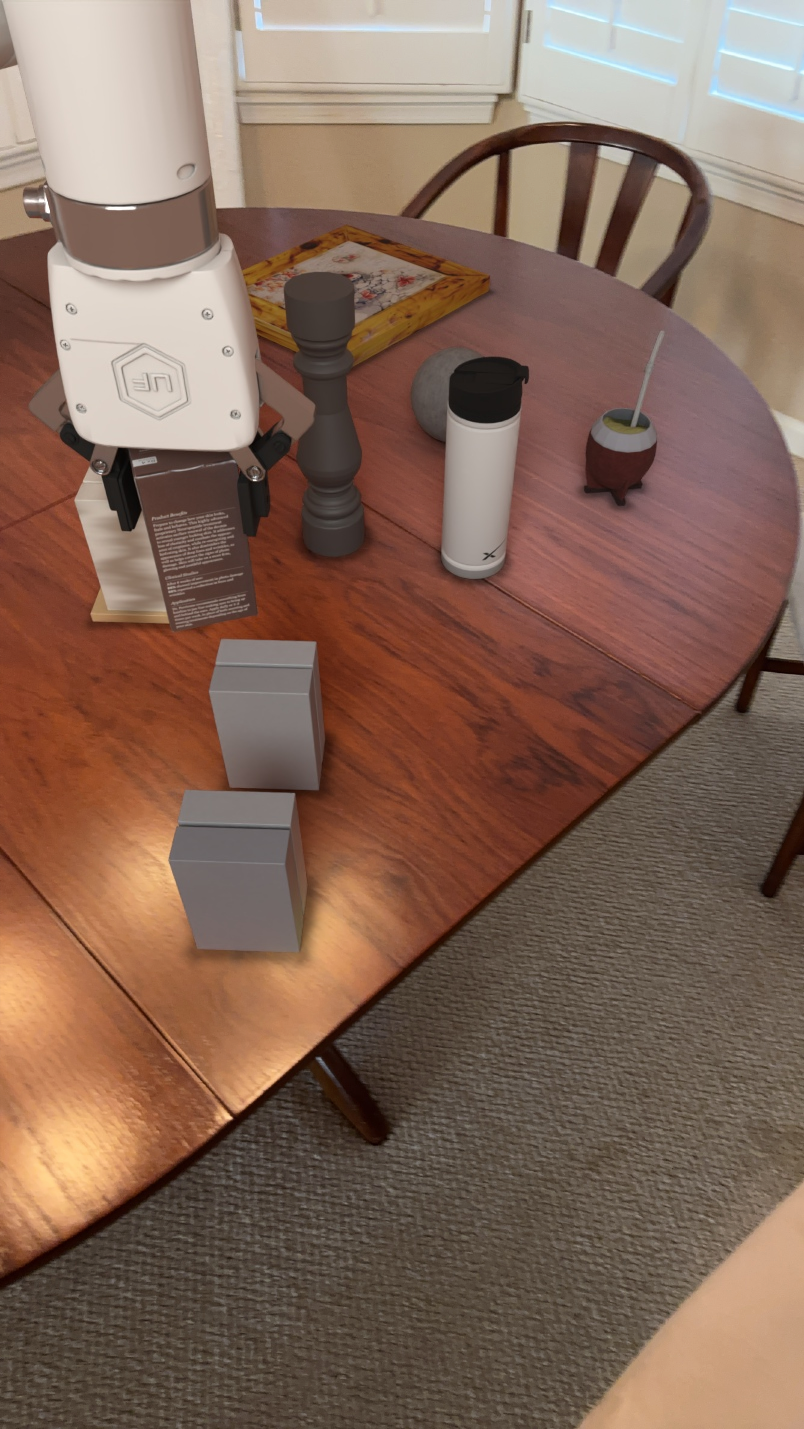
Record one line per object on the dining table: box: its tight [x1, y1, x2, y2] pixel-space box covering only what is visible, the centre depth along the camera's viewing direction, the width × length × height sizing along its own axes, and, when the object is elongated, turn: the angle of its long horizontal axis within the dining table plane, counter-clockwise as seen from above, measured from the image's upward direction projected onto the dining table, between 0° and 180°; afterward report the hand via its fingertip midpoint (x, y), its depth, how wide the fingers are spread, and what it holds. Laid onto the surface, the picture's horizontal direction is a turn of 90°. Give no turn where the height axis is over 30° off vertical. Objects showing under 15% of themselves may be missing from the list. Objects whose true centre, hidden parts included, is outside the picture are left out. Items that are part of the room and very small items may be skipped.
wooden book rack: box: [73, 465, 170, 625], centre depth 87 cm, size 10×18×13 cm, turn 178°
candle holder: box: [284, 272, 366, 558], centre depth 85 cm, size 6×6×25 cm
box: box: [128, 448, 259, 633], centre depth 59 cm, size 6×4×12 cm
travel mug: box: [440, 355, 530, 580], centre depth 85 cm, size 6×7×20 cm
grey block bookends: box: [167, 638, 326, 954], centre depth 66 cm, size 7×19×11 cm, turn 178°
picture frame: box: [241, 224, 491, 367], centre depth 129 cm, size 27×2×30 cm
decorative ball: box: [410, 346, 485, 443], centre depth 103 cm, size 10×10×10 cm
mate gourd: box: [583, 330, 666, 507], centre depth 95 cm, size 8×8×15 cm
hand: (193, 518), depth 58 cm, fingers closed on box, 6 cm apart
